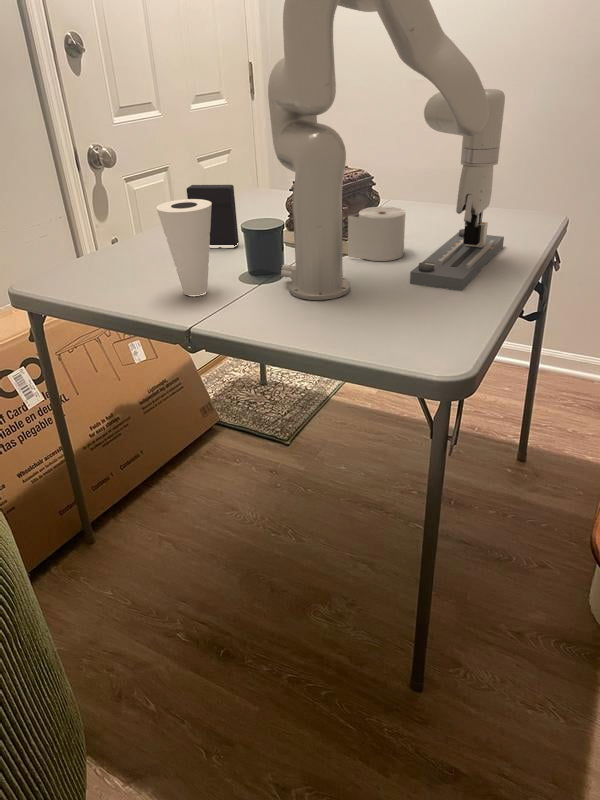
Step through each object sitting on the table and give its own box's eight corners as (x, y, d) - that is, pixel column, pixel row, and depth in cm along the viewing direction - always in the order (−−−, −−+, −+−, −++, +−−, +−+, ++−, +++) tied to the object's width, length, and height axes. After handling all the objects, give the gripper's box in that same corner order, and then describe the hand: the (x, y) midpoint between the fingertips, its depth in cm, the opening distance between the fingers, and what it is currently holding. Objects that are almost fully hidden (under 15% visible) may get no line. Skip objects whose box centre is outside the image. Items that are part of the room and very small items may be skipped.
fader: (464, 245, 141) (466, 223, 139) (468, 242, 143) (470, 220, 141) (482, 247, 139) (484, 224, 137) (485, 244, 141) (487, 222, 139)
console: (409, 283, 130) (410, 265, 128) (457, 242, 153) (459, 226, 151) (461, 290, 125) (463, 272, 123) (502, 247, 148) (504, 231, 146)
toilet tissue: (412, 253, 147) (414, 210, 142) (383, 266, 140) (384, 221, 135) (376, 245, 154) (376, 204, 149) (345, 258, 146) (345, 215, 141)
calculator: (239, 244, 159) (234, 183, 152) (235, 249, 156) (229, 187, 148) (199, 243, 161) (191, 184, 154) (193, 248, 158) (185, 187, 150)
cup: (231, 291, 130) (222, 203, 121) (190, 306, 124) (177, 214, 114) (200, 280, 137) (189, 196, 127) (160, 294, 130) (145, 207, 121)
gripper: (472, 149, 136) (465, 233, 145) (450, 161, 125) (443, 251, 134) (507, 150, 132) (497, 236, 142) (487, 163, 121) (478, 255, 131)
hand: (471, 243), depth 138 cm, fingers closed
